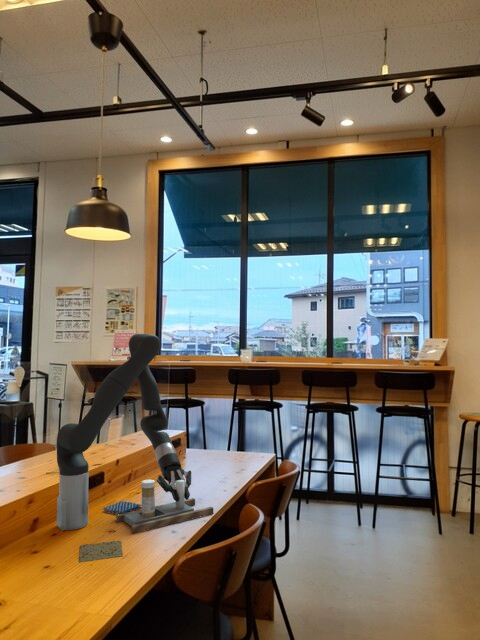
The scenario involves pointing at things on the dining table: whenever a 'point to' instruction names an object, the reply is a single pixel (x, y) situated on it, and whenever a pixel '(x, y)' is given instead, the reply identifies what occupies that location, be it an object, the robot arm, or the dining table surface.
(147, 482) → the sprinkles bottle
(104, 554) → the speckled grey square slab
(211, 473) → the dining table surface
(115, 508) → the woven mat
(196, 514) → the guide rails
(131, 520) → the grey tray with post
